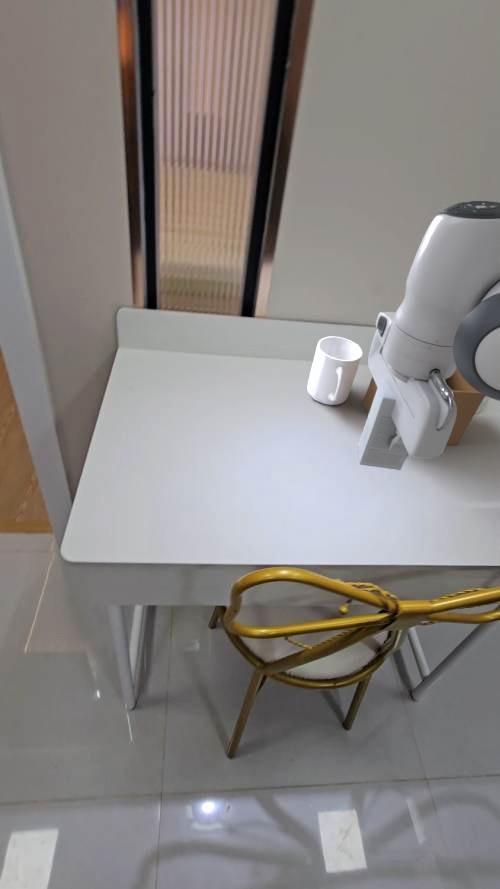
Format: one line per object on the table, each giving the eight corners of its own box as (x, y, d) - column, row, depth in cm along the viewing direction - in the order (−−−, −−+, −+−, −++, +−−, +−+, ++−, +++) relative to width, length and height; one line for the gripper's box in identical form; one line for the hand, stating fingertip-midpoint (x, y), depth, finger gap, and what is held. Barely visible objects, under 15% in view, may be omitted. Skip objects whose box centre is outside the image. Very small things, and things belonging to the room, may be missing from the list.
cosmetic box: (396, 451, 70) (425, 385, 62) (400, 471, 67) (431, 405, 59) (356, 445, 70) (379, 378, 62) (358, 465, 67) (383, 398, 59)
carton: (434, 406, 108) (460, 352, 98) (456, 445, 98) (488, 390, 89) (362, 402, 105) (382, 347, 96) (379, 442, 96) (403, 385, 86)
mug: (338, 379, 111) (351, 335, 103) (359, 412, 103) (375, 367, 95) (300, 381, 108) (311, 336, 100) (318, 415, 100) (332, 369, 92)
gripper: (485, 403, 49) (436, 491, 59) (419, 309, 64) (388, 392, 73) (428, 401, 48) (387, 490, 58) (374, 306, 63) (348, 390, 73)
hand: (387, 434), depth 66 cm, fingers closed on cosmetic box, 4 cm apart
